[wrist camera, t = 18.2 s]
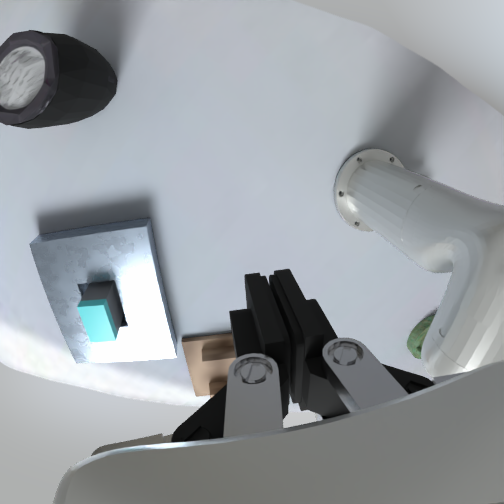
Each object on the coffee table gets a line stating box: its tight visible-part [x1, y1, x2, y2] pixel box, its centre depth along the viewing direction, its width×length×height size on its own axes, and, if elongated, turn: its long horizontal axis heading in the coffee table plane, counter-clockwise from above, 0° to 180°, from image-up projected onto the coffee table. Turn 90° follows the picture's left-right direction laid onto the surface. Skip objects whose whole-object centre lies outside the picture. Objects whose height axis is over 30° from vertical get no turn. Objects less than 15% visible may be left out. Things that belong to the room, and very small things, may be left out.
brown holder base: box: [182, 333, 236, 398], centre depth 53 cm, size 12×14×4 cm
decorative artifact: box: [407, 315, 435, 359], centre depth 58 cm, size 10×7×10 cm
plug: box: [77, 280, 124, 342], centre depth 43 cm, size 4×6×8 cm, turn 3°
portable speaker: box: [0, 30, 117, 129], centre depth 25 cm, size 9×9×20 cm
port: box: [30, 218, 177, 363], centre depth 45 cm, size 18×22×4 cm
